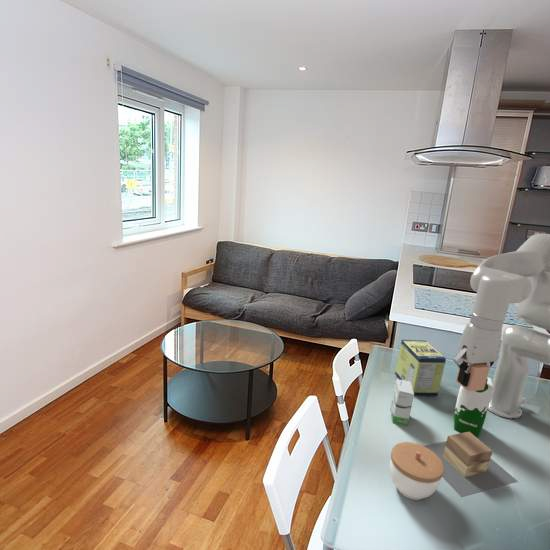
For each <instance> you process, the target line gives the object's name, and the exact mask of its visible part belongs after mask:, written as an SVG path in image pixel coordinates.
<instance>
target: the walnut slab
mask: <svg viewBox="0 0 550 550" xmlns="http://www.w3.org/2000/svg"><path fill="white" fill-rule="evenodd" d="M446 441H447V442H446V445H445V446H446V447H447V448H448V449H449V450H450V451H451V452H452V453H453V454H454V455H455V456H456V457H458V458H459V459H460V460H461V461H462V462H463V463H464V464H465V465H466V466H467V467H468V466H472V465H476V464H480V463H485V462H489V461H490V458H491V457H492V454H493V450H492V449H491V448H490V447H489V446H487V445H486V444H485V443H484V442H483V441H482V440H480V439H479V437H475V436H474V435H473V434H472V433H470V432H465V433H462V432H460V433H456V434H449V435H447V438H446ZM491 459H492V458H491Z"/></svg>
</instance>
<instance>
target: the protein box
mask: <svg viewBox="0 0 550 550" xmlns="http://www.w3.org/2000/svg"><path fill="white" fill-rule="evenodd" d="M446 361H447V358H446V357H445V356H444V355H442V354H441V353H440V352H439V350H437V349H436V348H435V347H433V346H432V345H431V344H430V343H429V342H428V341H427V340H423V339H422V340H421V339H420V340H419V339H418V340H417V339H414V340H413V339H401V342H400V347H399V353H398V357H397V362H396V369H395V372H394V375H395V374H396V375H397V376H396V375H395V376H396V377H397V379H398V378H399V379H400V380H405V381H409V382H411V385H412V388H413V392H414V397H415V396H416V397H418V396H420V397H423V396H424V397H426V396H430V397H431V396H432V397H438V395H439V391H440V386H441V382H442V379H443V374H444V369H445V366H446Z"/></svg>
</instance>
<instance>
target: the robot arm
mask: <svg viewBox="0 0 550 550" xmlns="http://www.w3.org/2000/svg"><path fill="white" fill-rule="evenodd" d="M469 282H470V283H469V284H470V287H471V289H472V290H473V291H474V292H476V295H475V300H474V303H473V307H472V310H471V311H472V312H471V316H470V319H469V323H467V324H466V325H465V327H464V329H463V331H462V334H461V336H460V339H459V342H458V345H457V349H456V356H455V357H454V358H453V360H452V361H453V362H454V363H455V364H456V366H457V368H458V370H459V369H460V371H459V375H458V379H457V381H458V382H459V383H461V384H462V385H463V386H465V387H467V386H468V382H469V378H470V373H469V372H470V370H471V368H472V366H473V364H475V363H485V364H486V365H488V366H490V369H489V371H490V370H491V367H492V366H493V365H494V364H495V363H496V362H497V364H496V368H495V372H494V375H493V378H492V386H493V392H492V395H491V399H490V403H489V407H488V410H487V411H490V412H491V413H493V414H495V415H496V416H499V417H503V418H506V419H512V418H515V419H519V418H521V417H522V415H523V410H522V409H521V408H520V406H521V404H526V403H527V402H528V400H527V398H526V397H525V396H524V397H523V393H524V389H525V386H526V383H527V379H528V377H529V374H530V364H529V361H528V359H531V360H533V361H535V362H538V363H542V364H544V365H548V366H550V334H548V333H544V332H542V331H538V330H535V329H532V328H529V327H526V326H522V325H518V324H517V325H516V324H510V325H508V326H506V327H505V328H504V330H503V326H504V322H505V318H506V315H507V311H508V308H509V304H518V305H517V308H516V311H515V316H516V318H517V319H518V320H519V321H520V322H523V323H525V324H528V325H530V326H534V327H538V328H540V329H542V330H547V331H549V332H550V234H549V233H535V234H533V235H532V236H530V237H528V238H527V240H526V241H524V242H523V244H521V245H520V246H519V247H518V248H517V250H515V251H511V252H506V253H500V254H496V255H492V256H490V257H488V258H486V259H484V260H483V261H482V262H481V263H479V265H478V266H477V267H476V268H475V270H474V271H473V273H471V276H470V281H469ZM465 363H468V365H467V367H466V366H465ZM520 416H521V417H520Z"/></svg>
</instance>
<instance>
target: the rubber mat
mask: <svg viewBox="0 0 550 550" xmlns="http://www.w3.org/2000/svg"><path fill="white" fill-rule="evenodd" d="M446 442H447V440H445V441H440V442H436V443H432V444H426V445H423V446H424V447H426V448H428V449H430V450H431V451H433V452H434V453H435V454H436V455H437V456H438V457H439V458H440V460H441V461H442V463H443V466H444V473H443V475H442V478H443V480H445V481H446V482H447V484H448V485H449V486H450V487H451V488H452V489H453V490H454V491H456V493H457V494H458V495H459V496H460V497H461V498H463V497H467V496H470V495H471V496H472V495H474V494H478V493H482V492H484V491H485V492H486V491H488V490H492V489H495V488H499V487H503V486H504V487H505V486H507V485H512V484H514V483H518V482H519V481H518V480H517V479H516V478H515V477H513V476H512V475H511V474H510V473H509V472H508V471H507V470H506V469H504V468H503V467H502V466H501V465H500V464H498V463H497V462H496V461H495V460H494V459H492V458H490V461H489V464H488V468H487V471H486V472H483V473H479V474H475V475H471V476H467V477H464V476H463V475H461V474H460V473H459V472H458V471H457V470H456V469H455V468H454V467H453V466H452V465H451V464H450V463H449V462H448V461H447V460H446V459H445V458H444V457H443V453H444V449H445V445H446Z"/></svg>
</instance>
